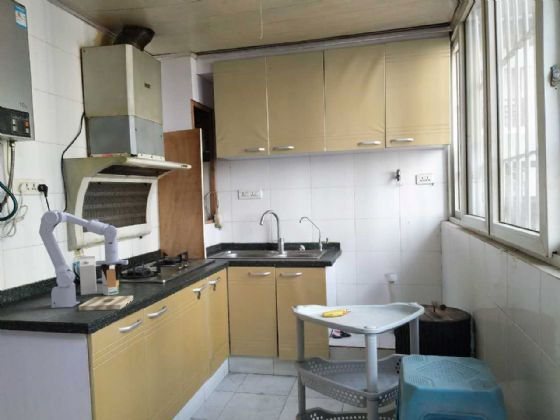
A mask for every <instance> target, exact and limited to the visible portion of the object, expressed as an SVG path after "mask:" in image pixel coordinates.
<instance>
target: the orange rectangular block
mask: <svg viewBox="0 0 560 420" xmlns="http://www.w3.org/2000/svg"><path fill="white" fill-rule="evenodd" d="M106 272H107V287H117V286H118V285H120V281H119V280H120V279H119V280H116V272H115V269H108V270H106Z"/></svg>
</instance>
